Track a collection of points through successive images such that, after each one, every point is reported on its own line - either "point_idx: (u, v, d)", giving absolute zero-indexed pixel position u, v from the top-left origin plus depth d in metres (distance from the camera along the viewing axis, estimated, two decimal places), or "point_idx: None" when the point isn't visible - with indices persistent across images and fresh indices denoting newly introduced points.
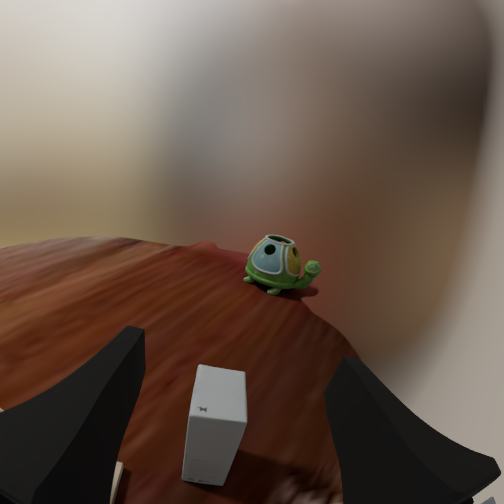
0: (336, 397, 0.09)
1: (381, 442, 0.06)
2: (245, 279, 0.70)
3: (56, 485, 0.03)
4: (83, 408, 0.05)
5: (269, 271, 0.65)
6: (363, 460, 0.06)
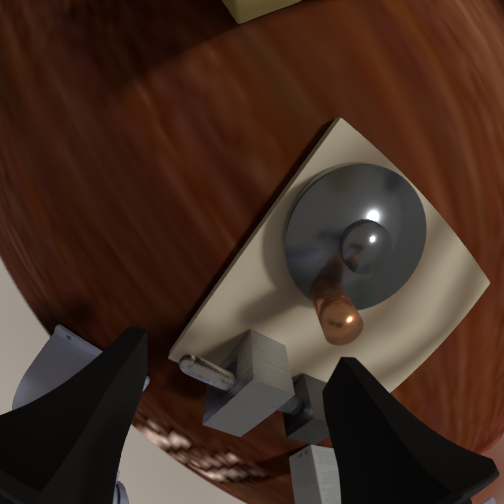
0: (334, 397, 0.09)
1: (378, 442, 0.06)
2: None
3: (61, 487, 0.03)
4: (87, 409, 0.05)
5: None
6: (360, 460, 0.06)
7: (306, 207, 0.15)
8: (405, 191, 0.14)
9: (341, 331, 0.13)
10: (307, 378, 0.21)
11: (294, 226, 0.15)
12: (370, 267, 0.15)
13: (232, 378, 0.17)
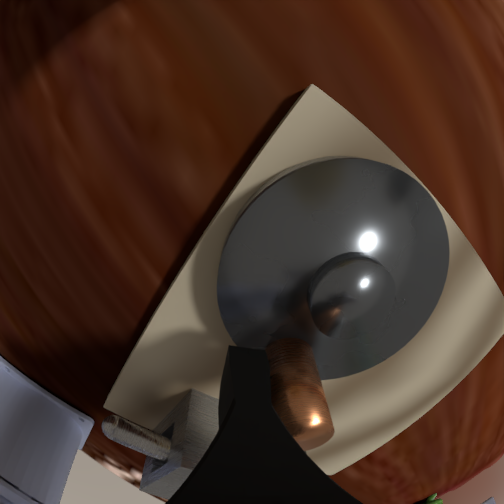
0: (222, 389, 0.09)
1: None
2: (434, 495, 0.36)
3: None
4: (267, 443, 0.05)
5: None
6: None
7: (247, 235, 0.09)
8: (421, 203, 0.08)
9: (297, 439, 0.07)
10: None
11: (228, 266, 0.09)
12: (357, 329, 0.09)
13: (167, 449, 0.11)
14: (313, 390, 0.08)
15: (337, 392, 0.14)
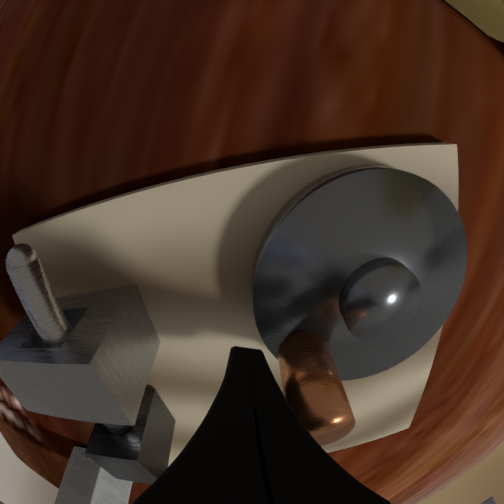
0: None
1: None
2: None
3: None
4: (247, 442, 0.05)
5: None
6: None
7: (304, 220, 0.09)
8: (453, 228, 0.09)
9: (317, 432, 0.07)
10: (156, 398, 0.13)
11: (277, 247, 0.09)
12: (379, 332, 0.09)
13: (61, 332, 0.08)
14: (338, 384, 0.08)
15: None
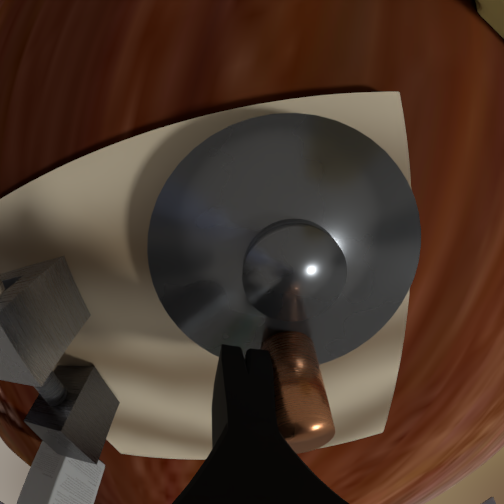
0: (215, 388, 0.09)
1: None
2: None
3: None
4: (271, 443, 0.05)
5: None
6: None
7: (163, 275, 0.09)
8: (300, 130, 0.07)
9: (296, 441, 0.07)
10: (94, 376, 0.12)
11: (171, 306, 0.09)
12: (322, 298, 0.08)
13: None
14: (293, 386, 0.07)
15: (189, 372, 0.13)
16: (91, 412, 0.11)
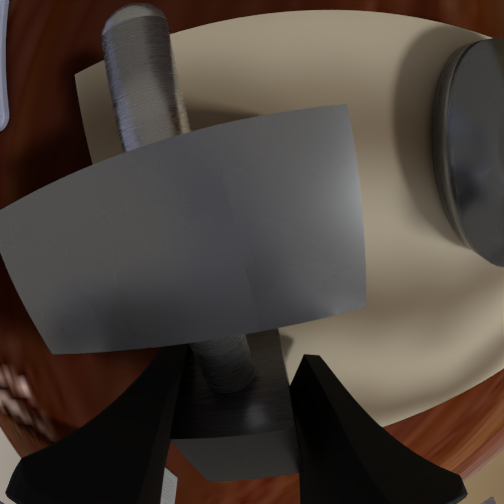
0: (296, 396, 0.09)
1: (333, 447, 0.06)
2: None
3: None
4: (148, 427, 0.05)
5: None
6: (317, 465, 0.06)
7: (464, 165, 0.06)
8: None
9: None
10: (278, 330, 0.09)
11: (466, 203, 0.07)
12: None
13: None
14: None
15: (407, 298, 0.10)
16: (289, 387, 0.08)
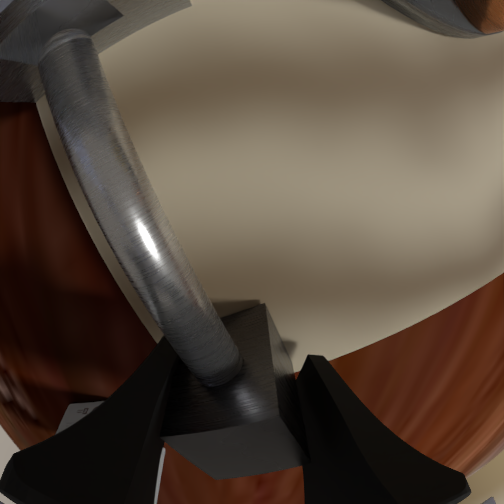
0: (300, 396, 0.09)
1: (338, 447, 0.06)
2: None
3: None
4: (140, 425, 0.05)
5: None
6: (322, 465, 0.06)
7: None
8: None
9: None
10: (269, 317, 0.09)
11: None
12: None
13: (122, 143, 0.05)
14: None
15: (356, 75, 0.07)
16: (285, 375, 0.08)
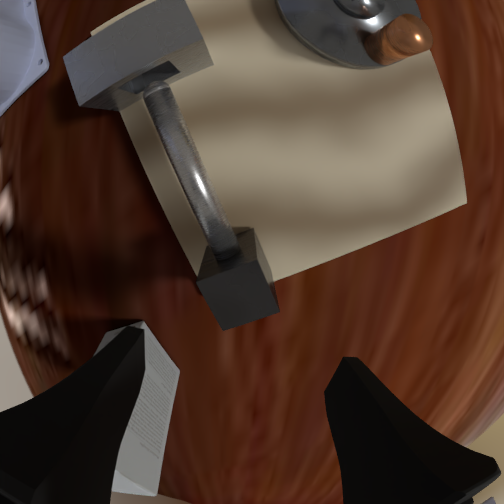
0: (336, 397, 0.09)
1: (381, 442, 0.06)
2: None
3: (56, 485, 0.03)
4: (83, 408, 0.05)
5: None
6: (363, 460, 0.06)
7: (292, 11, 0.11)
8: None
9: (415, 35, 0.08)
10: (256, 235, 0.17)
11: (302, 27, 0.11)
12: (378, 3, 0.10)
13: (190, 138, 0.12)
14: None
15: (301, 102, 0.14)
16: (264, 261, 0.15)
